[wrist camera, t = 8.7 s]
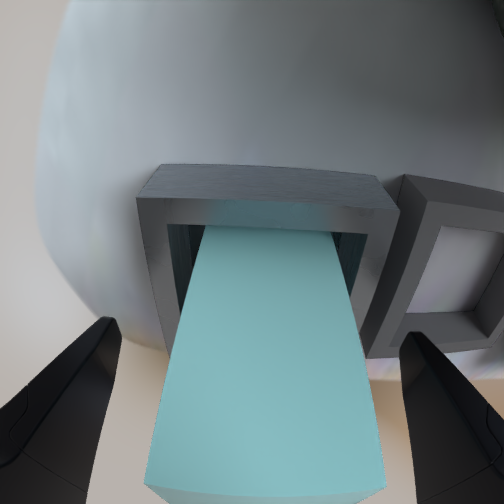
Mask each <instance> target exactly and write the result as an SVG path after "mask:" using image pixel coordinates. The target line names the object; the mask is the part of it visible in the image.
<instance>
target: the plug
mask: <svg viewBox="0 0 504 504" xmlns="http://www.w3.org/2000/svg"><path fill="white" fill-rule="evenodd" d="M144 484H145V485H146V486H148V487H149V488H150V489H151V490H153V491H154V492H155V493H156V494H158V495H159V496H160V497H161V498H163V499H164V500H165V501H167V502H168V503H169V504H356V503H358V502H360V501H362V500H364V499H366V498H368V497H369V496H372V495H373V494H375V493H377V492H379V491H380V490H382V489H384V488H385V487H386V478H385V471H384V464H383V458H382V450H381V444H380V438H379V432H378V426H377V421H376V415H375V410H374V404H373V399H372V395H371V390H370V385H369V379H368V374H367V370H366V365H365V361H364V356H363V352H362V347H361V343H360V339H359V335H358V330H357V326H356V322H355V318H354V314H353V310H352V306H351V302H350V299H349V295H348V291H347V287H346V284H345V280H344V276H343V273H342V269H341V265H340V262H339V258H338V255H337V252H336V248H335V245H334V241H333V238H332V235H331V231H315V230H297V229H279V228H259V227H238V226H215V225H206V227H205V230H204V234H203V237H202V241H201V244H200V248H199V251H198V255H197V258H196V262H195V265H194V269H193V272H192V276H191V280H190V283H189V287H188V291H187V294H186V298H185V302H184V306H183V309H182V313H181V317H180V321H179V325H178V329H177V333H176V337H175V341H174V345H173V349H172V353H171V357H170V362H169V365H168V370H167V375H166V378H165V382H164V387H163V391H162V396H161V400H160V405H159V409H158V414H157V418H156V423H155V428H154V433H153V438H152V442H151V447H150V452H149V457H148V463H147V468H146V473H145V479H144Z"/></svg>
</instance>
